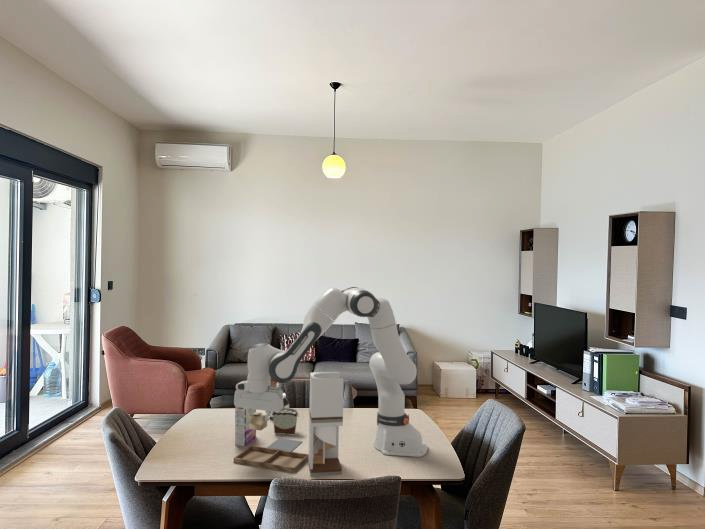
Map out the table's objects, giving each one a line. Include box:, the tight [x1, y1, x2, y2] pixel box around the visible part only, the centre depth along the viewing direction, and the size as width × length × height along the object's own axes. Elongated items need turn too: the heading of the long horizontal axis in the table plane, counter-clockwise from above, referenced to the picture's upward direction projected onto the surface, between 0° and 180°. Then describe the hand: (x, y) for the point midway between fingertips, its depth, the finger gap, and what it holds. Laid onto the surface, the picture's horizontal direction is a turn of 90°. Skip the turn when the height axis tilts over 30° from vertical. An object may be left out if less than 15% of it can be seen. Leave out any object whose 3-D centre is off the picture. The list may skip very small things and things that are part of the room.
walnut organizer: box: [233, 445, 309, 474], centre depth 174 cm, size 26×13×2 cm, turn 72°
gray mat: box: [266, 437, 303, 452], centre depth 189 cm, size 11×11×1 cm
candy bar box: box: [234, 406, 257, 447], centre depth 194 cm, size 11×5×16 cm, turn 168°
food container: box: [272, 407, 300, 435], centre depth 206 cm, size 12×6×10 cm, turn 84°
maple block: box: [249, 411, 268, 432], centre depth 176 cm, size 5×5×5 cm
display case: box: [307, 371, 345, 477], centre depth 169 cm, size 11×11×35 cm
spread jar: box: [269, 392, 290, 420], centre depth 228 cm, size 12×11×12 cm
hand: (258, 420), depth 176 cm, fingers closed on maple block, 5 cm apart
